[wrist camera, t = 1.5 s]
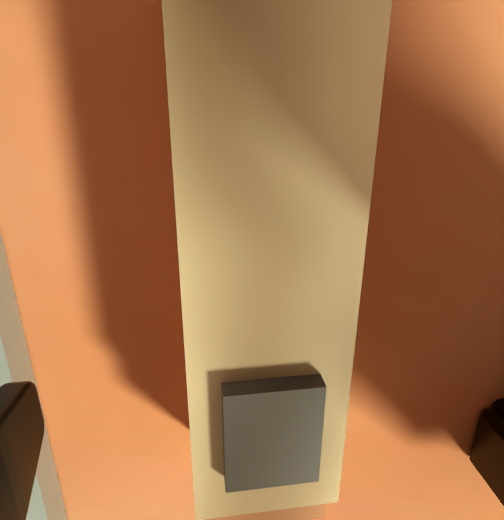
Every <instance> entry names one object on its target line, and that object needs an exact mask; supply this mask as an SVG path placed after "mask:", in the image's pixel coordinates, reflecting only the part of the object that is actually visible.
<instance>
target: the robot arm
mask: <svg viewBox="0 0 504 520" xmlns="http://www.w3.org/2000/svg"><path fill="white" fill-rule="evenodd" d="M43 437H44V418H43V414H42V410H41V405H40V401H39V397H38V392H37V389H36V386H35V384H34V383H33V382H31V381H21V382H10V383H5V384H3V385H2V386H0V520H26V517H27V513H28V508H29V503H30V498H31V494H32V489H33V484H34V479H35V475H36V470H37V465H38V461H39V456H40V451H41V446H42V442H43ZM470 461H471V462H472V463H473V465H474V466H475V468H476V469H477V470H478V472H479V473H480V474H481V476H482V477H483V478H484V480H485V481H486V482H487V484H488V485H489V487H490V488H491V489H492V491H493V492H494V493H495V495H496V496H497V497H498V499H499V500H500V502H501V503H502V504H503V506H504V398H501V399H498V400H496V401H495V402H494V403H493V405H492V409H485V410H482V412H481V415H480V418H479V422H478V426H477V430H476V434H475V438H474V442H473V446H472V450H471V454H470Z"/></svg>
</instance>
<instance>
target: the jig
mask: <svg viewBox="0 0 504 520" xmlns="http://www.w3.org/2000/svg"><path fill="white" fill-rule="evenodd" d="M21 381H31V382H33V383H34V384H35V386H36V382H35V377H34V373H33V369H32V365H31V360H30V356H29V352H28V347H27V343H26V339H25V335H24V330H23V326H22V322H21V317H20V313H19V309H18V305H17V300H16V296H15V292H14V288H13V283H12V279H11V275H10V270H9V266H8V262H7V258H6V253H5V249H4V245H3V240H2V236H1V232H0V386H2V385H3V384H5V383H10V382H21ZM36 389H37V386H36ZM37 392H38V390H37ZM38 397H39V394H38ZM39 401H40V399H39ZM40 405H41V403H40ZM41 410H42V407H41ZM42 414H43V412H42ZM43 418H44V416H43ZM26 520H68V519H67V514H66V510H65V506H64V501H63V497H62V493H61V489H60V484H59V480H58V476H57V471H56V467H55V463H54V459H53V454H52V450H51V446H50V442H49V437H48V433H47V429H46V424H45V420H44V437H43V442H42V446H41V451H40V456H39V461H38V465H37V470H36V475H35V479H34V484H33V489H32V494H31V498H30V503H29V508H28V513H27V517H26Z"/></svg>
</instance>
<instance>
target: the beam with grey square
mask: <svg viewBox="0 0 504 520" xmlns="http://www.w3.org/2000/svg"><path fill="white" fill-rule="evenodd" d="M392 1H393V0H162V15H163V30H164V46H165V61H166V76H167V91H168V106H169V122H170V137H171V152H172V167H173V183H174V198H175V213H176V228H177V244H178V259H179V274H180V289H181V304H182V320H183V335H184V350H185V365H186V381H187V396H188V411H189V426H190V442H191V457H192V472H193V487H194V502H195V518H196V520H314V519H322V518H324V511H325V504H327V503H335V502H338V498H339V489H340V480H341V470H342V461H343V452H344V443H345V434H346V424H347V415H348V406H349V397H350V388H351V378H352V369H353V360H354V351H355V341H356V332H357V323H358V314H359V305H360V295H361V286H362V277H363V268H364V259H365V249H366V240H367V231H368V222H369V213H370V203H371V194H372V185H373V176H374V166H375V157H376V148H377V139H378V130H379V120H380V111H381V102H382V93H383V84H384V74H385V65H386V56H387V47H388V38H389V28H390V19H391V10H392Z"/></svg>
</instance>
